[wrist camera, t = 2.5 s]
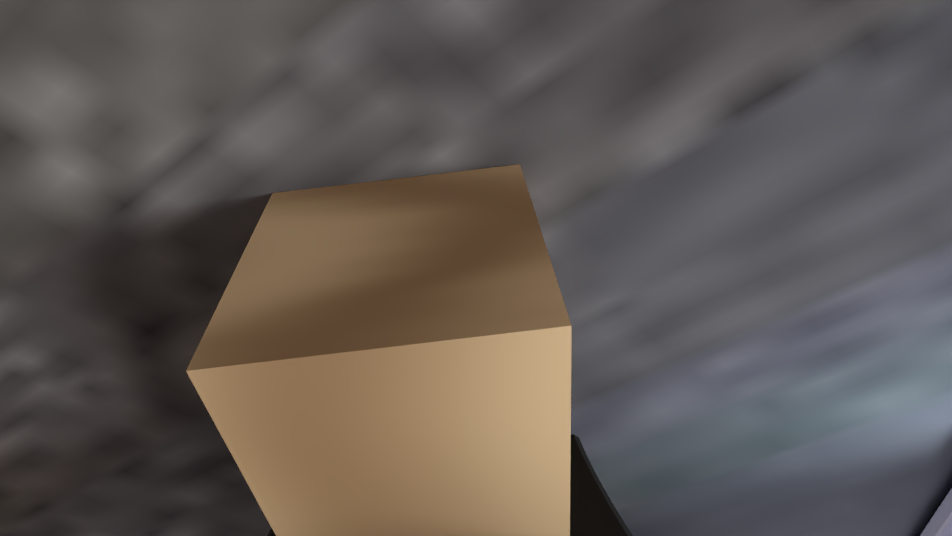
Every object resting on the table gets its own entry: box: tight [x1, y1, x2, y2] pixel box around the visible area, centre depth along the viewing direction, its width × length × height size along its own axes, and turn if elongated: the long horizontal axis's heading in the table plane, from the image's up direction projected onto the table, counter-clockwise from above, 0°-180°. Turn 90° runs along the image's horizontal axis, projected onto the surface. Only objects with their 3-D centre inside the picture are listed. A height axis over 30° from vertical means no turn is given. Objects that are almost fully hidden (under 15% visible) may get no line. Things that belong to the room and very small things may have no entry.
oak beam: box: [186, 164, 571, 536], centre depth 11 cm, size 4×12×4 cm, turn 6°
